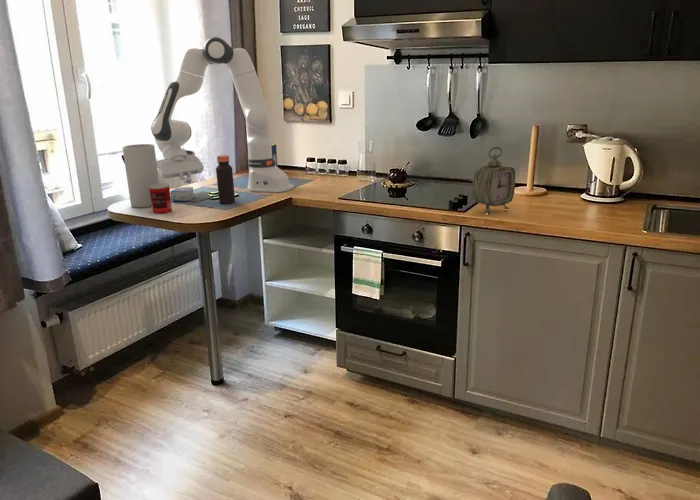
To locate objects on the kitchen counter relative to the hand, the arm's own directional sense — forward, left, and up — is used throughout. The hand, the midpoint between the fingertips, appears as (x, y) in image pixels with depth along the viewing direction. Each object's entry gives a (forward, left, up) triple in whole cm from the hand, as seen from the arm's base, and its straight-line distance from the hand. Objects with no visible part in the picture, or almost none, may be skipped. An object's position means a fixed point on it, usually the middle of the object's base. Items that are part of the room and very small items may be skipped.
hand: (188, 182), depth 255 cm
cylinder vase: (+8, +18, -7) cm, 21 cm away
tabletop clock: (-131, -22, -7) cm, 133 cm away
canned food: (-8, +25, -7) cm, 27 cm away
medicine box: (+2, +1, -4) cm, 5 cm away
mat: (-4, -2, -7) cm, 8 cm away
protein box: (-1, -58, -7) cm, 58 cm away
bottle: (-23, +2, -7) cm, 24 cm away
